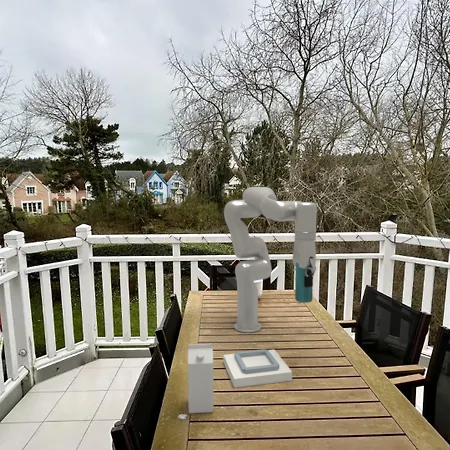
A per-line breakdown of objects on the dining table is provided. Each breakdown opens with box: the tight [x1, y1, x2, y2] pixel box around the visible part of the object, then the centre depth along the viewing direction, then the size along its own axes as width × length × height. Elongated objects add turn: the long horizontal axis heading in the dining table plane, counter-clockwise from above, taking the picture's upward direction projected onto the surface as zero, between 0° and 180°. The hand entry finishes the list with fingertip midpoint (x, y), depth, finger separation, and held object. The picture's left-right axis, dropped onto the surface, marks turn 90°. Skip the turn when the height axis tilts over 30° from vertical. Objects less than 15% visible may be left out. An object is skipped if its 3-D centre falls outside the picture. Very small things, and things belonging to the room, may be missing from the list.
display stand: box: [222, 348, 293, 389], centre depth 123 cm, size 17×20×4 cm
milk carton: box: [187, 343, 214, 414], centre depth 102 cm, size 7×7×19 cm
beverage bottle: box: [294, 263, 314, 304], centre depth 128 cm, size 6×7×20 cm
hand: (303, 283), depth 128 cm, fingers closed on beverage bottle, 6 cm apart
